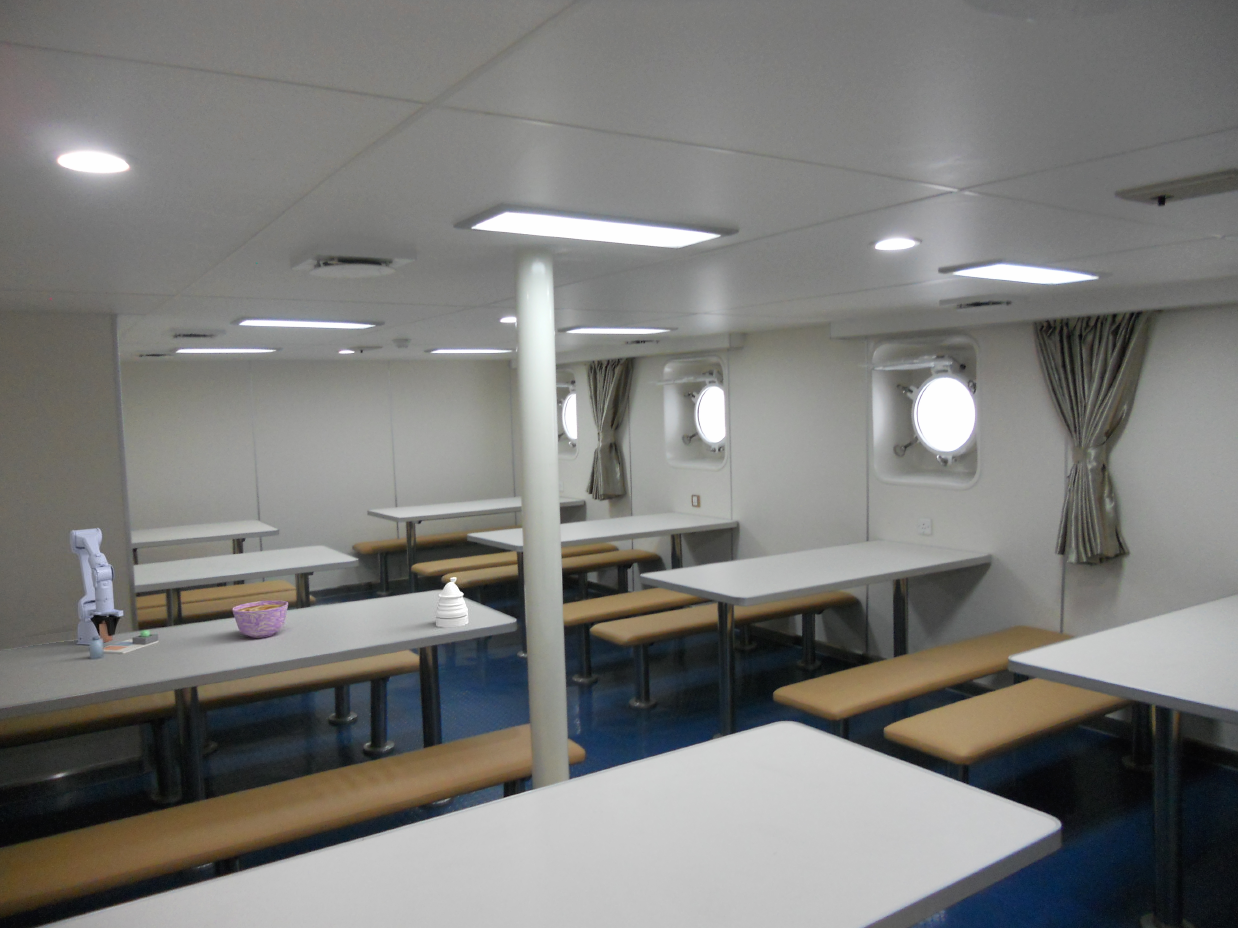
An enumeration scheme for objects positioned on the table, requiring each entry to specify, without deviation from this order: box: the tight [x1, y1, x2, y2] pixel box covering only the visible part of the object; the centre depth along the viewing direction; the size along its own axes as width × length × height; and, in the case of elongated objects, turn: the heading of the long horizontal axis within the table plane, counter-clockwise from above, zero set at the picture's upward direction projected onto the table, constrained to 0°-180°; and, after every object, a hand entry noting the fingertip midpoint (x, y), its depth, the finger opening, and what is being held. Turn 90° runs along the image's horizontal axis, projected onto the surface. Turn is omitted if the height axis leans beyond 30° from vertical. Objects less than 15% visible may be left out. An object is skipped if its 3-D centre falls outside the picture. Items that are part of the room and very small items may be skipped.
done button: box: [140, 629, 151, 637], centre depth 314 cm, size 3×3×3 cm
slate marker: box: [88, 636, 105, 660], centre depth 296 cm, size 4×4×8 cm
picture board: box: [103, 633, 160, 654], centre depth 310 cm, size 14×16×3 cm
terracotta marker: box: [99, 620, 114, 643], centre depth 307 cm, size 4×4×8 cm
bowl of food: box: [232, 600, 289, 639], centre depth 321 cm, size 20×20×12 cm
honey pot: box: [434, 576, 469, 628], centre depth 330 cm, size 13×13×18 cm
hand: (106, 635), depth 308 cm, fingers closed on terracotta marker, 4 cm apart
